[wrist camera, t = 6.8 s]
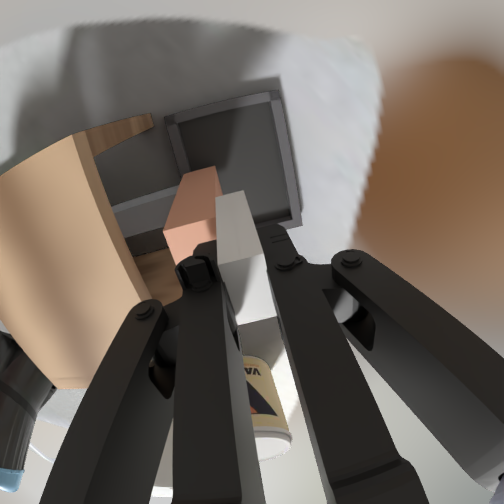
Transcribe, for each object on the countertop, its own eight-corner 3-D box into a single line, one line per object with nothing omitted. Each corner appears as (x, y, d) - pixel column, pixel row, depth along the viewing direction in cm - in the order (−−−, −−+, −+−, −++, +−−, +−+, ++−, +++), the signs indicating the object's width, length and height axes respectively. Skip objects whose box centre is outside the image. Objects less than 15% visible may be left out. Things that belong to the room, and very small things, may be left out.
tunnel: (104, 276, 27) (58, 389, 15) (52, 154, 21) (-55, 218, 8) (194, 252, 27) (186, 377, 15) (150, 113, 21) (71, 134, 8)
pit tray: (204, 243, 27) (204, 249, 26) (166, 116, 21) (163, 117, 20) (299, 220, 27) (302, 225, 26) (275, 90, 21) (278, 89, 20)
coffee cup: (265, 342, 35) (284, 428, 24) (282, 380, 39) (300, 453, 29) (195, 361, 35) (195, 445, 25) (222, 396, 40) (228, 468, 29)
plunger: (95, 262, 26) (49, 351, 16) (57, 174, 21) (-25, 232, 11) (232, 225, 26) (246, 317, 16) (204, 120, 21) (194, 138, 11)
